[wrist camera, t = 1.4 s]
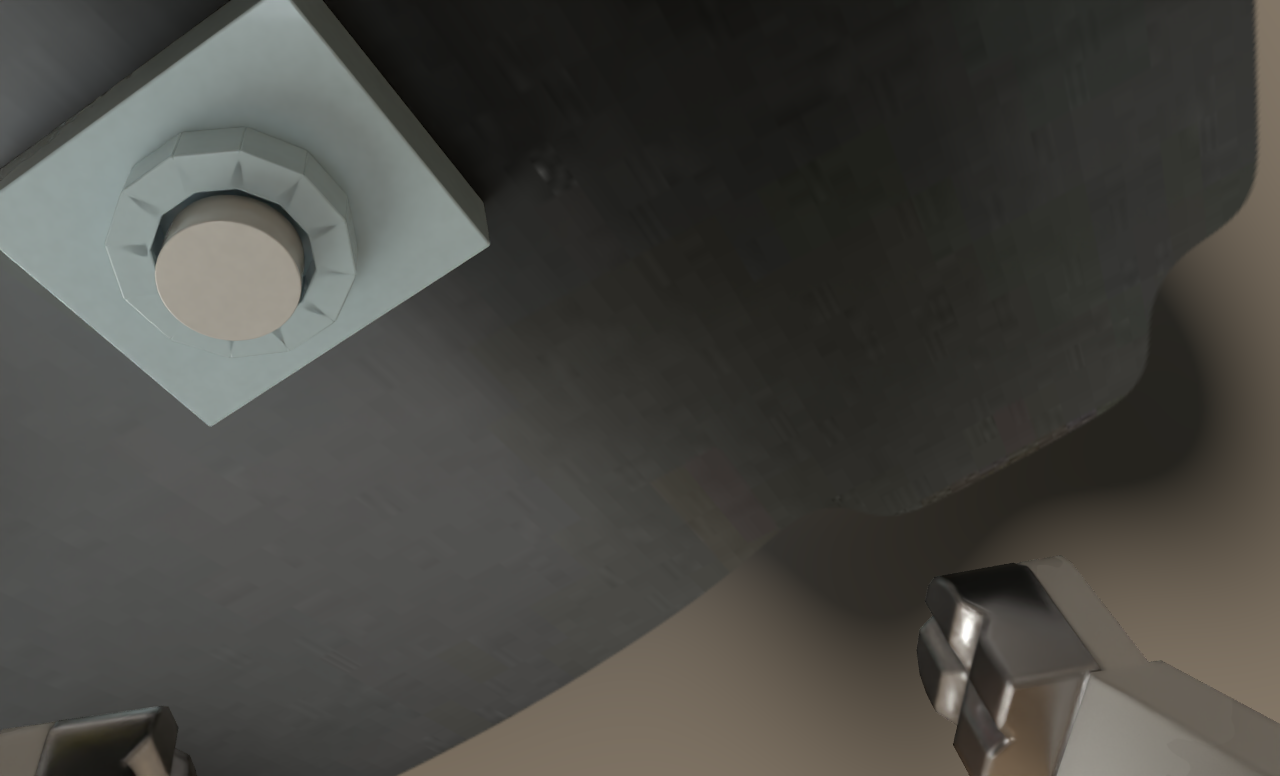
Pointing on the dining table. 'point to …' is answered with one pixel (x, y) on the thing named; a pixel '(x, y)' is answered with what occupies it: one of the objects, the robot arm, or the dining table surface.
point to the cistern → (241, 194)
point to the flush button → (230, 268)
